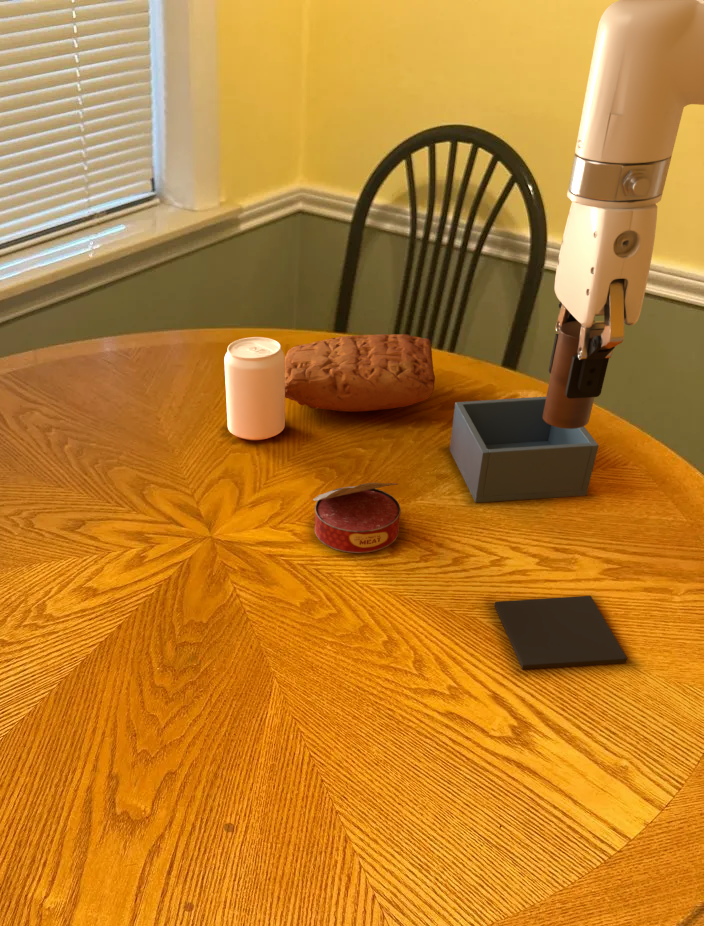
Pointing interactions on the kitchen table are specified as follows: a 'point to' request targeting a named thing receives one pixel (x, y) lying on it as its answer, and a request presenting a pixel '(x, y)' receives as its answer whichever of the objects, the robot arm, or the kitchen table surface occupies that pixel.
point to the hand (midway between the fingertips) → (573, 382)
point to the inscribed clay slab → (360, 372)
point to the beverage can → (255, 388)
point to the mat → (559, 632)
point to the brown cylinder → (557, 404)
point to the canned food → (357, 518)
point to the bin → (519, 451)
